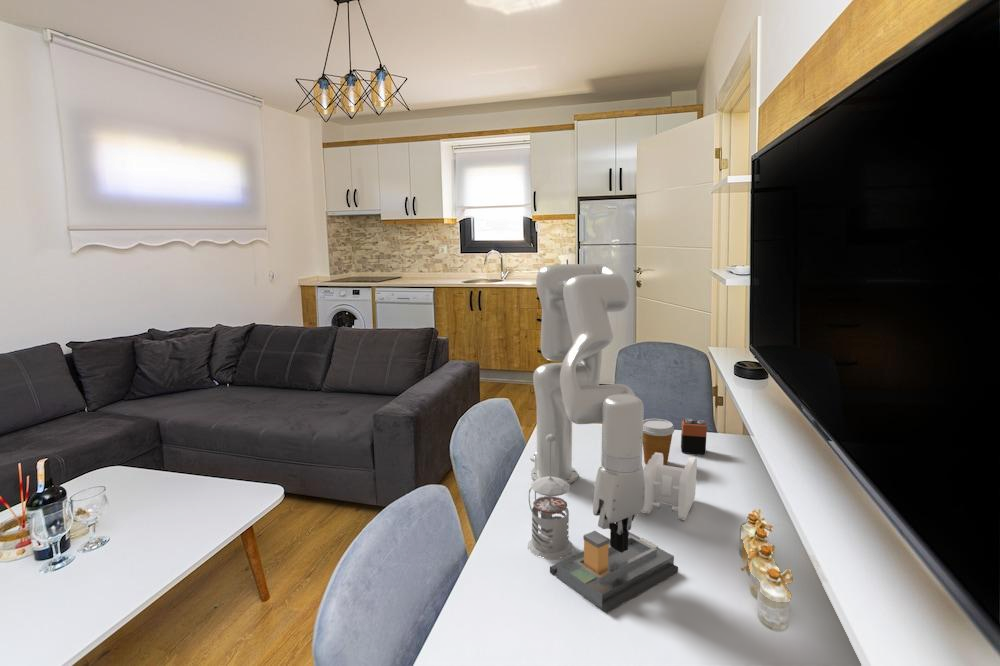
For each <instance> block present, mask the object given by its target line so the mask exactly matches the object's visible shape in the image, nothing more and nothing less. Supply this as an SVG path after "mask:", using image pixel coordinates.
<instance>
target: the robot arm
mask: <svg viewBox="0 0 1000 666" xmlns="http://www.w3.org/2000/svg"><path fill="white" fill-rule="evenodd" d="M535 284H536V291H537V295H538V298H539V301H540V305H541V323H540V324H541V326H540V352H541V355H542V357H543V359H546V360H548V361H551V362H552V363H545V364H541V365H540V366H538V367H537V368H536V369H535V370H534V372H533V374H532V379H533V380H532V382H533V383H532V384H533V389H534V395H535V404H536V405H535V406H536V451H535V452H534V453H533V455H532V456H530V458H529V459H530V461H531V462H533V463H534V467H533V468H532V469H531V471H530V476H531V479H532V480H533V481H535V480H537V479H539V478H542V477H547V476H550V442H549V441H546V436H547V435H549V434H552V435H554V437H555V441H552V442H551V477H558V478H560V479H562V480H564V481H566V482H567V483H568V484H569V485H570V484H572V483H574V482H575V481H577V480H578V471H577V470H576V468H574V467H572V465H573V464H572V463H573V458H572V457H573V424H576V425H592V424H602V425H601V458H600V459H601V464H600V465H601V466H600V467H598V469H597V473H596V477H595V482H594V491H593V501H592V502H593V503H592V513H593V516H597V517H598V516H599V518H598V523H597V527H598V528H601V529H602V530H607V529H608V530H610V533H609V535H610V538H609V539H610V546H611V547H612V548H614V549H616V550H617V551H619V552H621V553H622V552H624V551H626V550H628V533H629V532H630V531H631V529H632V523H633V521H634V519H635V518H636V517H637V516H638V515H639V514H641V513H642V512H641V510H642V509H643V507H644V500H645V483H644V472H643V470H644V466H643V420H644V415H645V413H644V411H645V410H644V407H645V406H644V403H643V401H642V400H641V398H639V397H638V396H636V394H635V392H634V391H633V390H632V388H631V387H629V386H628V385H627V384H623V383H615V384H614V383H612V384H600V379H601V368H602V357H603V350H604V349H606V348H607V347H608V346H609V345H610V344H611V343H612V341H613V340H614V339H613V338H614V334H613V331H612V326H611V322H610V320H609V319H610V318H609V315H608V312H609V313H610V312H611V313H613V312H614V313H615V312H617V313H618V312H622V311H625V309H626V308H627V307H628V305H629V303H630V290H629V286H628V283H627V282H626V279H625V278H624V277H623V276H622V275H621V274H620V273H619V272H618V271H616V270H614V269H613V268H611V267H610V266H608V265H606V264H602V263H585V264H584V263H581V264H579V263H578V264H577V263H572V264H571V263H570V264H569V263H568V264H550V265H546V266H543V267H541V268H540V269H539V270H538V271H537V274H536V278H535ZM628 531H629V532H628Z"/></svg>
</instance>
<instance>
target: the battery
mask: <svg viewBox="0 0 1000 666" xmlns="http://www.w3.org/2000/svg"><path fill="white" fill-rule="evenodd" d="M707 425H708V424H707V422H706V421H704V420H703V419H697V420H693V419H692V418H688V417H687V418H685V419H683V420H681V434H680V435H681V436H680V450H681V453H682V454H693V455H706V451H707V448H706V447H707V434H708V433H707V430H708V426H707Z"/></svg>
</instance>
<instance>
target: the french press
mask: <svg viewBox="0 0 1000 666" xmlns="http://www.w3.org/2000/svg"><path fill="white" fill-rule="evenodd" d="M546 441H549V442H550V476H547V477H542V478H539V479H537V480H533V482H532V483H530V488H529V491H528V504H529V509H530V512H531V517H532V518H531V538H530V539H531V540H529V541H528V542H527V543H528V545H527V549H528V550H529V549H530V551H531V552H532V553H534V554H535V555H534V554H533V555H534V556H536V555H537V556H536V557H538V556H541V557H544V558H543V559H546V558H549V559H548V560H552V559H551V558H557V559H561V558H560V557H562V558H565V557H567V556H569V555H570V554H571V553H572V551H573V550H574V546H573V545H574V544H573V543H572V542H571V540H570V539H569V537H570V536H569V529H570V528H569V527H570V526H569V521H570V518H569V516H570V513H569V512H570V511H569V508H568V503H567V501H566V500H564V499H563V498H561V497H559V496H562V495H565V494H567V493H568V491H570V490H571V489H570V488H571V487H570V486H571V485H570V484H568V483H567V482H566V481H564V480H562V479H560V478H558V477H551V442H552V441H555V437H554V435H552V434H549V435H547V436H546ZM531 490H533V491H534V501H533V503H532V504H533V507H532V506H531V499H530V498H531V496H530V494H531ZM537 494H539V495H541V497H538V498H537ZM563 511H564V512H565V513H564V512H563ZM539 514H540V517H539ZM556 514H557V515H556ZM553 515H555V516H553ZM558 515H560V516H558ZM561 515H562V516H561ZM539 532H540V533H539ZM530 551H529V552H530ZM531 552H530V553H531ZM532 553H531V554H532ZM566 555H567V556H566ZM541 557H540V558H541Z"/></svg>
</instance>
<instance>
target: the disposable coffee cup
mask: <svg viewBox="0 0 1000 666" xmlns="http://www.w3.org/2000/svg"><path fill="white" fill-rule="evenodd" d="M675 429H676V428H675V427H674V424H673V423H672V422H671V421H669V420H667V419H662V418H646V419H643V444H642V453H643V458H644V459H643V460H644V464H645V465H646V464H647V463H648V461H649V459H651V458H652V455H654V453H655V452H657V453H662V454H663V465H666V466H668V462H669V455H670V449H671V446H672V445H671V444H672V439H673V434H674V432H675Z"/></svg>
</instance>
